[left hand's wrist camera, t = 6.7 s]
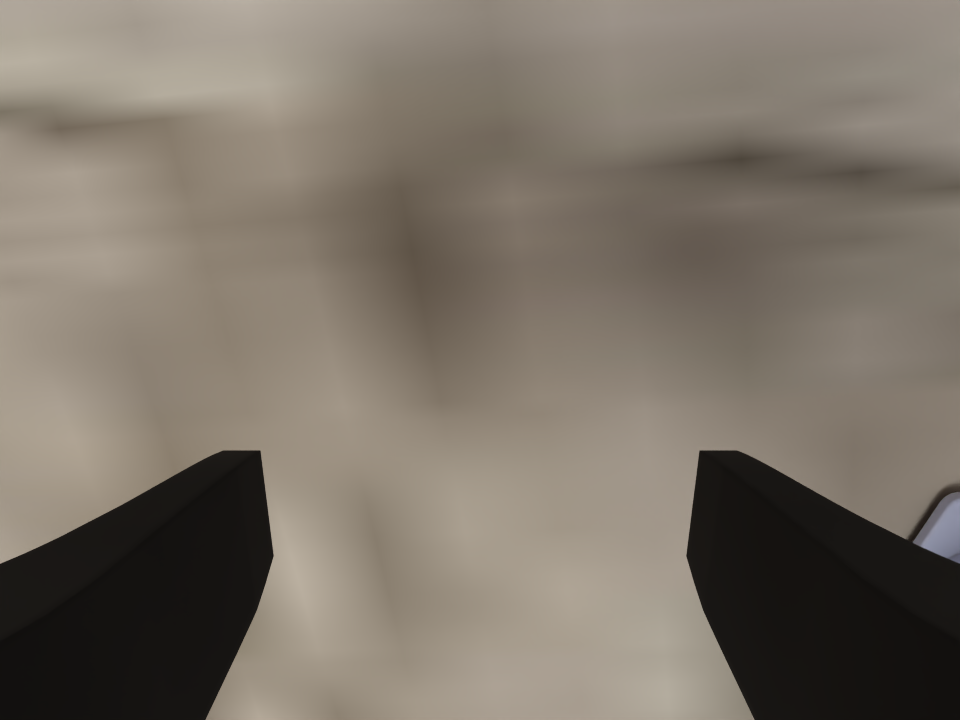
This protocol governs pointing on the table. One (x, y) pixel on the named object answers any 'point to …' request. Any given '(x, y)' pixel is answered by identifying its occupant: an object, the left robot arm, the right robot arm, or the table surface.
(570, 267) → the table surface
